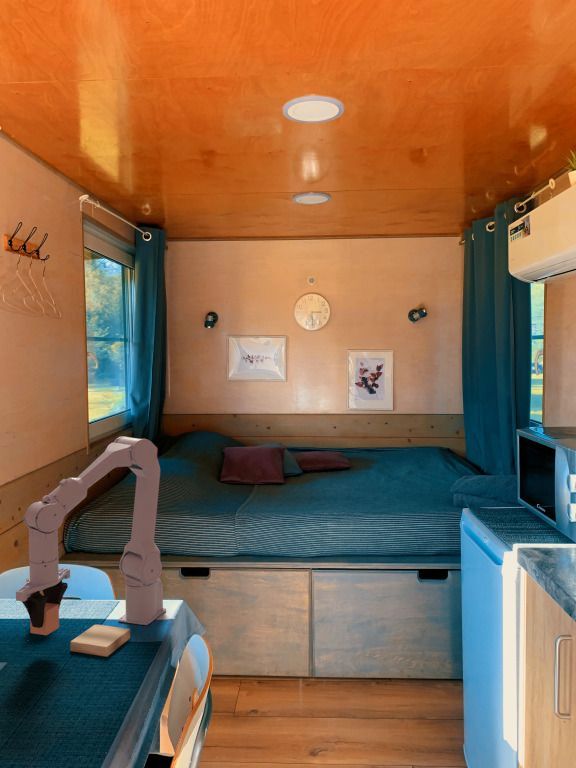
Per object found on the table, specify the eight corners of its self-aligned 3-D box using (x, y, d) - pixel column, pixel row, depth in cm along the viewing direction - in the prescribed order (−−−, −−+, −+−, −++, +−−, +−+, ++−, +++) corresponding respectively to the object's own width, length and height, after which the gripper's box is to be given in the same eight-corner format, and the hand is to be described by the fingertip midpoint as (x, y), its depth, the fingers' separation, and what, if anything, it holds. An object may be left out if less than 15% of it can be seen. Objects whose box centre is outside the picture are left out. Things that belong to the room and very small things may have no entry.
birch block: (95, 634, 138) (95, 624, 138) (130, 640, 135) (130, 629, 135) (70, 653, 129) (70, 641, 129) (107, 658, 127) (106, 647, 127)
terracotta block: (43, 625, 131) (43, 602, 131) (59, 627, 130) (58, 604, 129) (30, 632, 127) (30, 609, 127) (46, 635, 126) (46, 611, 126)
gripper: (51, 547, 136) (52, 606, 136) (3, 568, 122) (4, 634, 122) (77, 550, 134) (78, 610, 134) (31, 571, 120) (33, 638, 120)
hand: (44, 622), depth 128 cm, fingers closed on terracotta block, 4 cm apart
